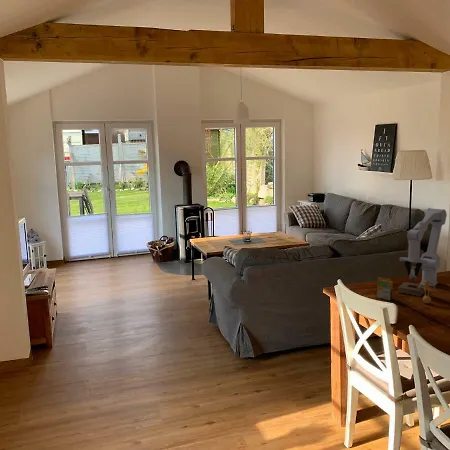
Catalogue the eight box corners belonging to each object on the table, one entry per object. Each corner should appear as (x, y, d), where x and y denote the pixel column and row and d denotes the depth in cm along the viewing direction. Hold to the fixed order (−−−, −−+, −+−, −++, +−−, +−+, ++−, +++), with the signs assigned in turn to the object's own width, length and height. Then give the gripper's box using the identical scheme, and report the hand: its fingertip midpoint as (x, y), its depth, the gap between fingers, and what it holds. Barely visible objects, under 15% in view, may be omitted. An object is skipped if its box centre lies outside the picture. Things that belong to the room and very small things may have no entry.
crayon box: (392, 299, 251) (393, 278, 248) (389, 300, 248) (390, 279, 246) (379, 296, 255) (379, 275, 253) (376, 297, 253) (377, 276, 251)
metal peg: (410, 278, 263) (410, 266, 261) (416, 279, 261) (417, 266, 260) (408, 279, 260) (409, 267, 258) (415, 280, 258) (416, 268, 257)
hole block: (404, 287, 270) (404, 281, 269) (426, 290, 263) (426, 285, 262) (397, 292, 260) (397, 287, 260) (420, 296, 253) (420, 291, 253)
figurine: (418, 304, 242) (419, 281, 240) (417, 300, 248) (418, 278, 246) (435, 305, 240) (437, 282, 238) (434, 301, 246) (435, 279, 244)
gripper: (398, 251, 258) (397, 275, 261) (426, 254, 250) (424, 279, 252) (402, 248, 264) (401, 272, 266) (429, 251, 255) (428, 276, 258)
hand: (412, 275), depth 260 cm, fingers closed on metal peg, 3 cm apart
